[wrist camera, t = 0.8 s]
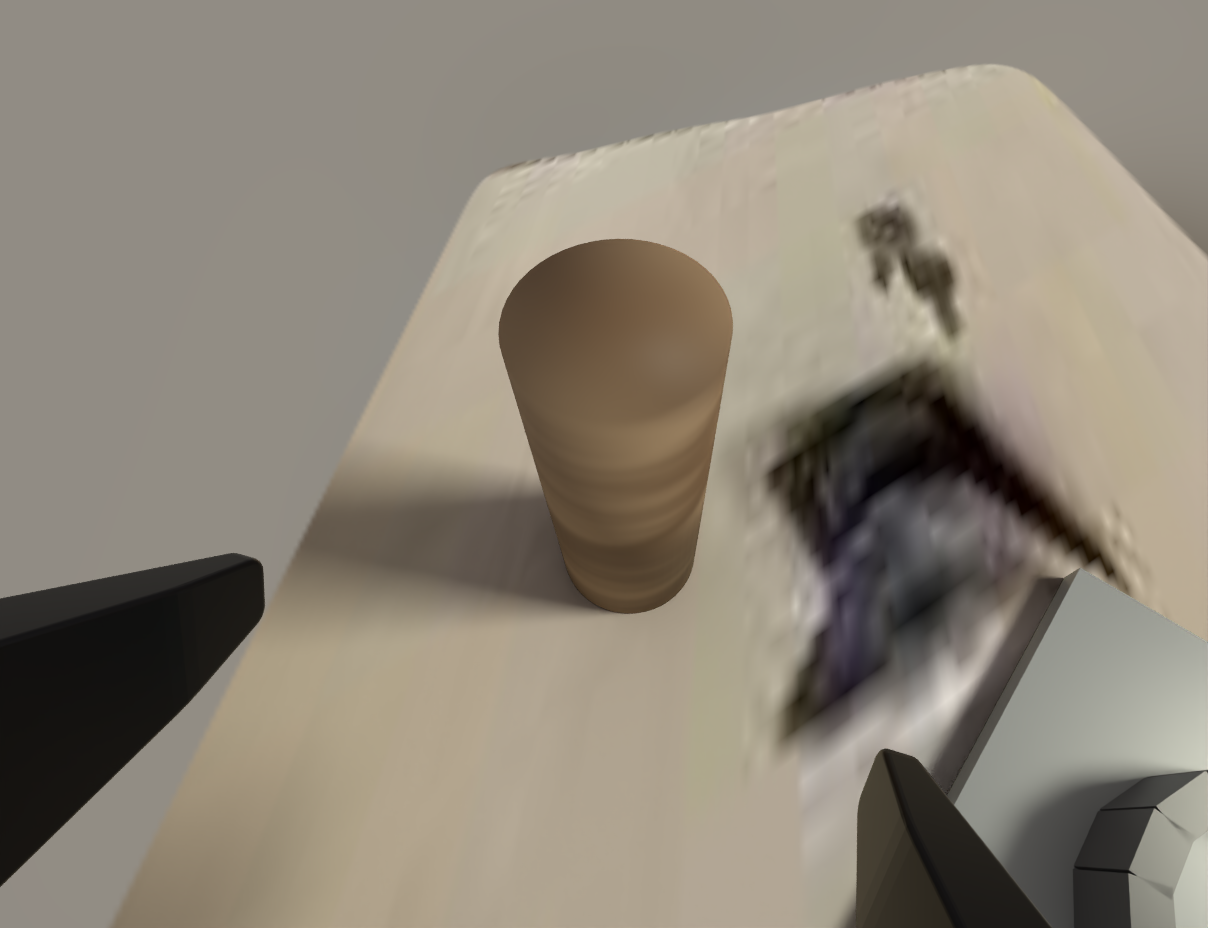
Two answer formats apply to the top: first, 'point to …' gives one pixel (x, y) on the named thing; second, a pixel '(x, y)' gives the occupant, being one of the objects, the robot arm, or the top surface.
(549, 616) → the top surface
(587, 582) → the plug
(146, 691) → the robot arm
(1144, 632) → the socket
